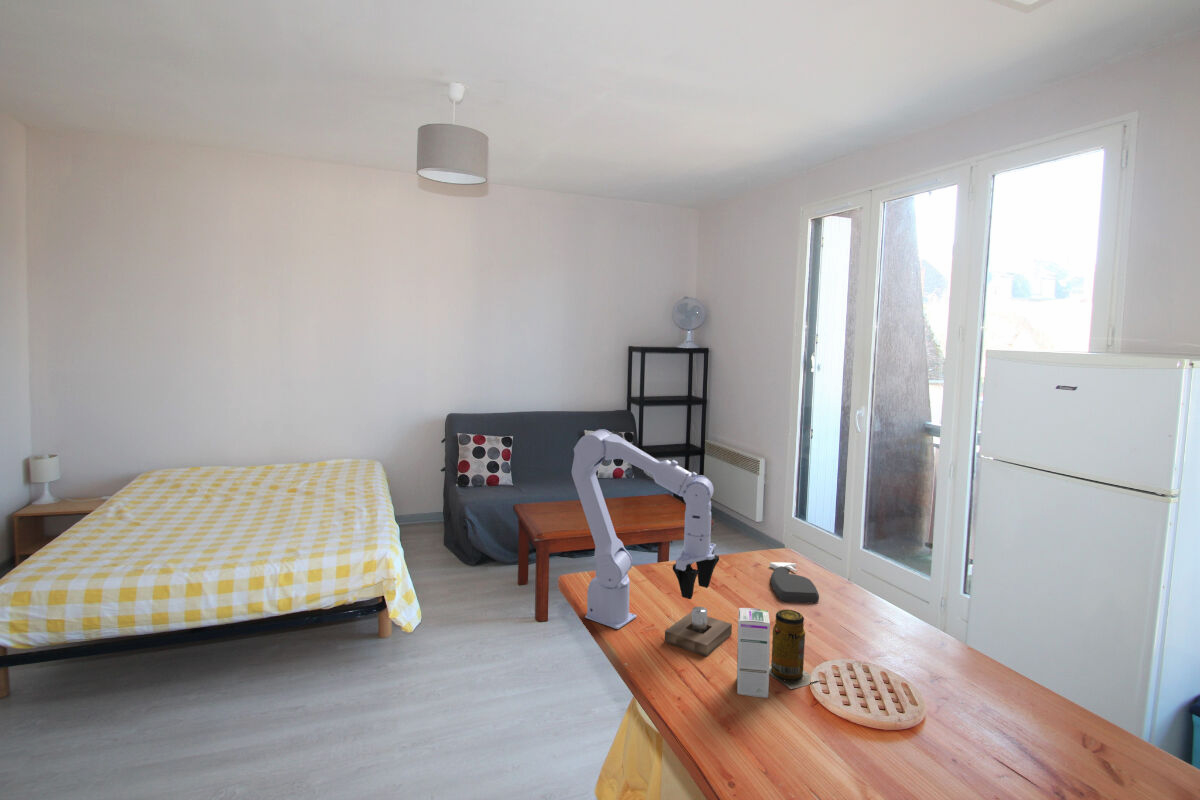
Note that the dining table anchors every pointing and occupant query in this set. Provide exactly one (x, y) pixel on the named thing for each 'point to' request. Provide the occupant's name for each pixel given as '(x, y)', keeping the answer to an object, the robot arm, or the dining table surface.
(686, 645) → the bore block
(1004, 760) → the dining table surface
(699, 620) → the pin
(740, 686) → the syrup box
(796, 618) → the condiment
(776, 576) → the spray bottle
